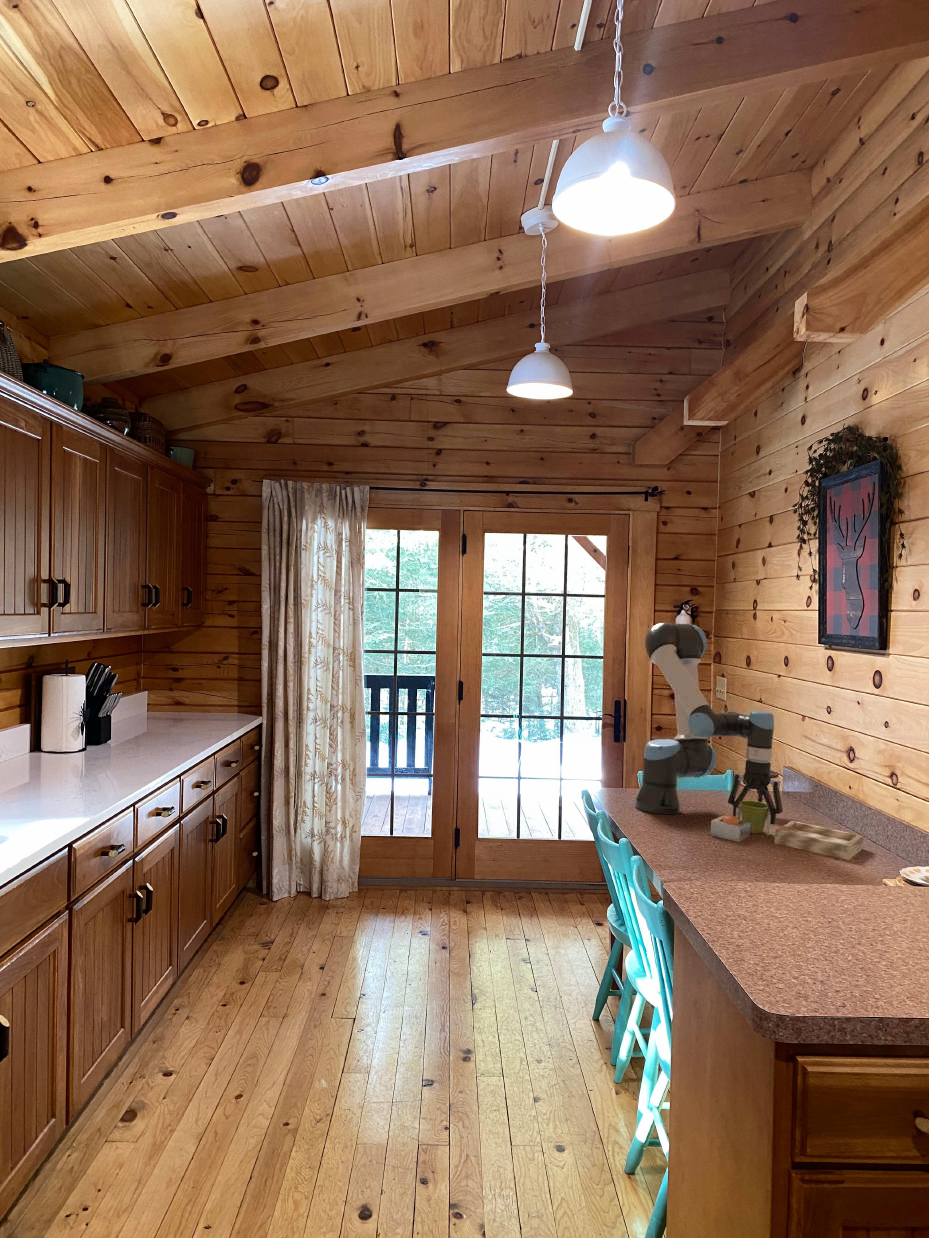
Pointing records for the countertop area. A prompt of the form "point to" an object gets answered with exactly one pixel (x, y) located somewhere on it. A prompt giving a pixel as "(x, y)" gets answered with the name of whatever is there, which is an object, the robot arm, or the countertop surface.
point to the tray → (819, 840)
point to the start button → (731, 820)
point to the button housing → (730, 829)
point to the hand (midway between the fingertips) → (752, 830)
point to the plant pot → (754, 815)
